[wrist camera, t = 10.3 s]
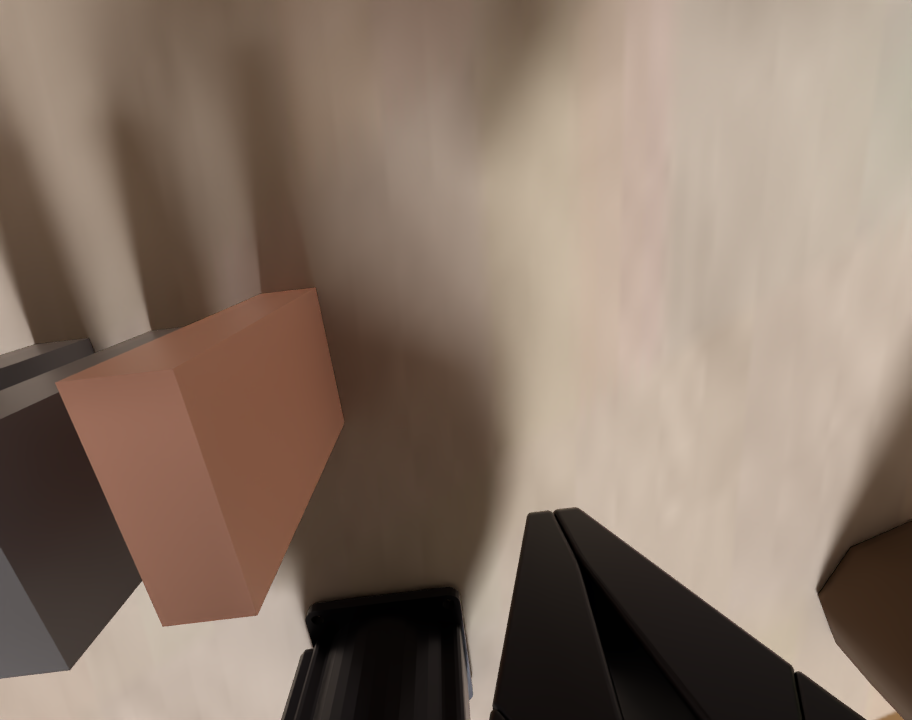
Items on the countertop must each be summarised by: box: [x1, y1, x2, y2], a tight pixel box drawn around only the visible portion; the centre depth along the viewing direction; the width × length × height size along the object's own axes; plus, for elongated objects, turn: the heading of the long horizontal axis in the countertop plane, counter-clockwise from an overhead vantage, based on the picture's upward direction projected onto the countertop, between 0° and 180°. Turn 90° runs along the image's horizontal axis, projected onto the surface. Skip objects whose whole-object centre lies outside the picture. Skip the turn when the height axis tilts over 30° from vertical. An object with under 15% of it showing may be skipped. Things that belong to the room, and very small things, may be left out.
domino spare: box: [55, 287, 345, 627], centre depth 11 cm, size 2×5×8 cm, turn 6°
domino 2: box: [0, 327, 183, 679], centre depth 11 cm, size 2×5×8 cm, turn 6°
